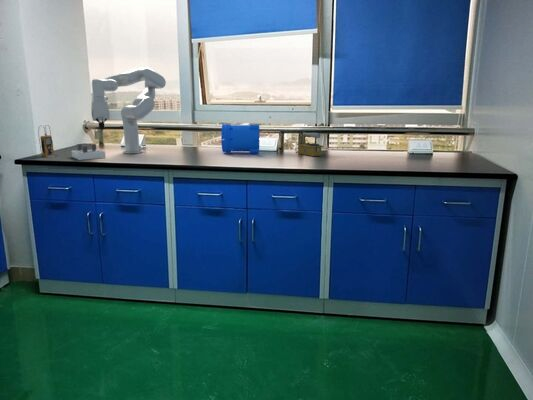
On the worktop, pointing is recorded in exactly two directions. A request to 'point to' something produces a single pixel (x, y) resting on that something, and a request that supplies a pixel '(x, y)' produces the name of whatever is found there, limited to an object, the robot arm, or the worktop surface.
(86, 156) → the breaker panel
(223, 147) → the blue plastic case
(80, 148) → the breaker
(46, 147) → the multimeter
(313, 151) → the geiger counter
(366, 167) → the worktop surface
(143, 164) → the worktop surface
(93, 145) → the breaker
